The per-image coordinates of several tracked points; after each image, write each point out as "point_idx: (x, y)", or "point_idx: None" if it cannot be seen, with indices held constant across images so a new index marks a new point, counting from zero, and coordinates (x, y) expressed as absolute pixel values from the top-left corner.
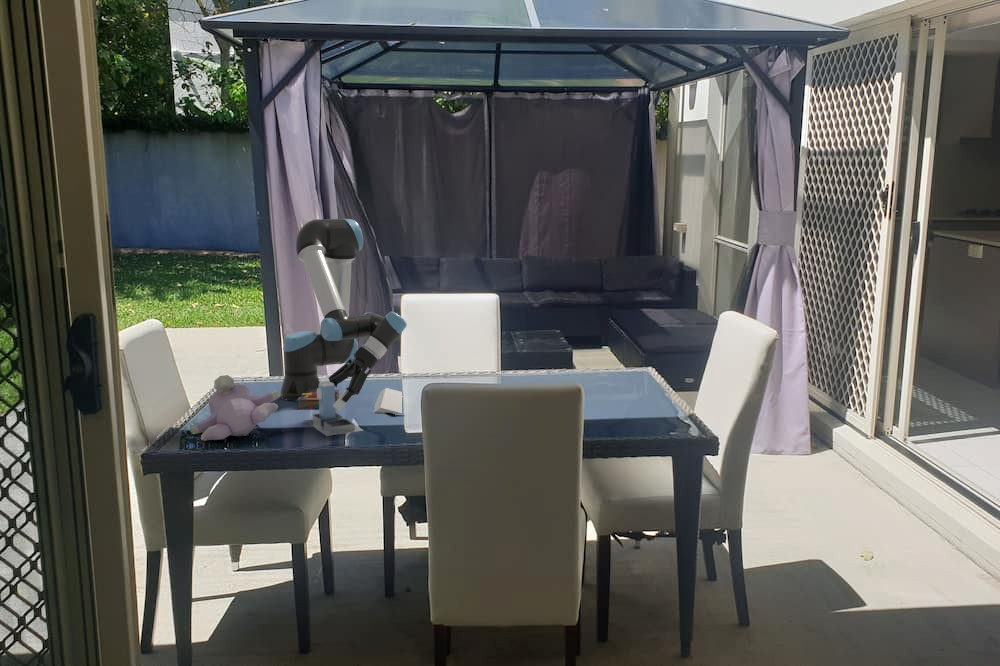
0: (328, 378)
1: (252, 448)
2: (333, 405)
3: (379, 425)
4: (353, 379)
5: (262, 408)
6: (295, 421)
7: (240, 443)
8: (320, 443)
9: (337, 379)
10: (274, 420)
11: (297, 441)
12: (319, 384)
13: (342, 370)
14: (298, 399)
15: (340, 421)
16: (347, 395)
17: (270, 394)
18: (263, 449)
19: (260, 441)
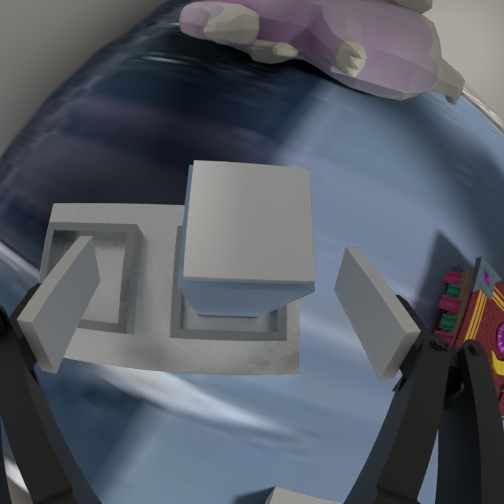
0: (473, 340)
1: (139, 50)
2: (81, 238)
3: (117, 461)
4: (7, 433)
5: (202, 5)
6: (347, 209)
7: (195, 41)
8: (44, 180)
9: (401, 398)
10: (381, 164)
11: (107, 131)
12: (295, 174)
13: (466, 467)
14: (480, 260)
15: (121, 302)
16: (17, 313)
17: (341, 40)
18: (113, 63)
19: (179, 67)
